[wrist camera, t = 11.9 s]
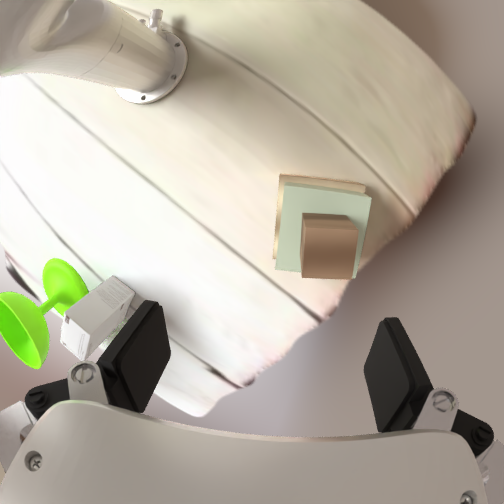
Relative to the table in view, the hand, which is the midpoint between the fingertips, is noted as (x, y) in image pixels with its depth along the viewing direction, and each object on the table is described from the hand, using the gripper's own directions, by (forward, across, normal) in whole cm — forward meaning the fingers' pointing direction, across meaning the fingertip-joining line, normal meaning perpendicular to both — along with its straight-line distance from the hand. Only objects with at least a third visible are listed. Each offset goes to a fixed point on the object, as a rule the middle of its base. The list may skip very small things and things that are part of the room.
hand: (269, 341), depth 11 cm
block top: (+25, -5, +2) cm, 25 cm away
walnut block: (+21, -5, +2) cm, 21 cm away
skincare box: (+29, +29, +19) cm, 45 cm away
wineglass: (+29, +45, +20) cm, 57 cm away
